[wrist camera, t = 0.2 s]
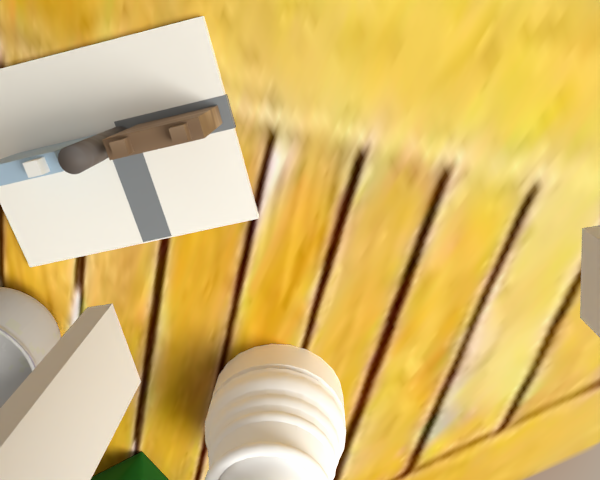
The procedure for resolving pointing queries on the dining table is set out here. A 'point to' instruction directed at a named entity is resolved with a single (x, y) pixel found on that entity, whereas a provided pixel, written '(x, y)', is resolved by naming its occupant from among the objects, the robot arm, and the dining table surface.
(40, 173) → the fence panel
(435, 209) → the dining table surface
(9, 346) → the teacup
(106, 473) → the milk carton
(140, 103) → the card
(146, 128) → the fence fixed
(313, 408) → the honey pot
